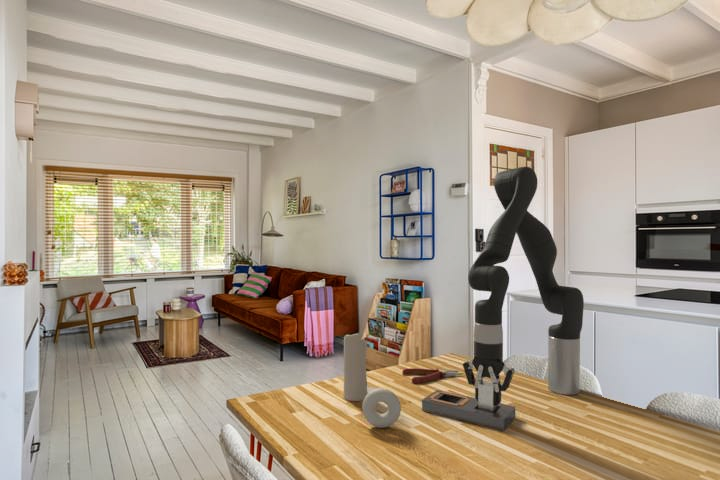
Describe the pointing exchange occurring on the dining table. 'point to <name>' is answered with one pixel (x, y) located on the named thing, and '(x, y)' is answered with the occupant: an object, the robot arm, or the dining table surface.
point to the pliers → (429, 374)
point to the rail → (467, 410)
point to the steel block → (486, 397)
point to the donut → (373, 415)
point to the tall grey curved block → (355, 368)
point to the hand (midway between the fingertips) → (488, 402)
